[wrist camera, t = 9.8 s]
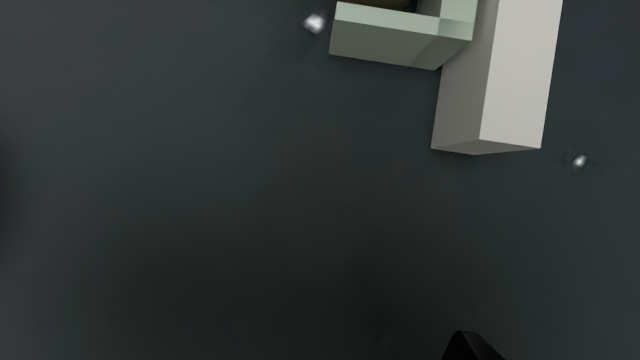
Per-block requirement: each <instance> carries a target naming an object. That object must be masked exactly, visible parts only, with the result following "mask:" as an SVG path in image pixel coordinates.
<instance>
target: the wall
mask: <svg viewBox="0 0 640 360" xmlns="http://www.w3.org/2000/svg"><path fill="white" fill-rule="evenodd" d="M562 1H563V0H478V1H477V8H476V15H475V22H474V28H473V35H472V41H471V42H470V43H468V44H467V45H466V46H464V47H463V48H462V49H461V50H459V51H458V52H457V53H456V54H454V55H453V56H452V57H451V58H449V59H448V60H447V61H446V62H444V63H443V67H442V74H441V81H440V87H439V94H438V101H437V108H436V115H435V121H434V128H433V135H432V142H431V149H437V150H444V151H451V152H458V153H465V154H471V155H480V154H490V153H499V152H509V151H519V150H528V149H538V148H540V147H541V140H542V134H543V127H544V121H545V114H546V107H547V101H548V94H549V87H550V81H551V74H552V68H553V61H554V54H555V48H556V41H557V34H558V28H559V21H560V15H561V8H562Z"/></svg>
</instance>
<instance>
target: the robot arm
mask: <svg viewBox="0 0 640 360" xmlns="http://www.w3.org/2000/svg"><path fill="white" fill-rule="evenodd" d="M442 360H505V359H504V358H503V357H502V356H501V355H500V354H499V353H498V352H497V351H496V350H495V349H493V348H492V347H491V346H490V345H489V344H488V343H487V342H486V341H485V340H484V339H483V338H482V337H481V336H480V335H478V334H477V333H474V332H468V331H461V330H459V331H456V332H455V333H454V334H453V335H452V337H451V340H450V342H449V344H448V346H447V348H446V350H445V352H444V354H443V356H442Z"/></svg>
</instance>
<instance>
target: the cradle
mask: <svg viewBox="0 0 640 360" xmlns="http://www.w3.org/2000/svg"><path fill="white" fill-rule="evenodd" d="M477 1H478V0H417V5H416V12H415V14H413V13H407V12H401V11H395V10H388V9H382V8H376V7H369V6H363V5H357V4H351V3H344V2H338V1H337V6H336V12H335V17H334V23H333V29H332V34H331V40H330V47H329V53H328V54H331V55H337V56H344V57H350V58H357V59H363V60H370V61H376V62H383V63H389V64H396V65H402V66H409V67H415V68H422V69H428V70H436V69H437V68H438V67H439V66H441V65H442V64H443V63H444V62H446V61H447V60H448V59H449V58H451V57H452V56H453V55H454V54H456V53H457V52H458V51H459V50H461V49H462V48H463V47H464V46H466V45H467V44H468V43H470V42H471V41H472V35H473V28H474V22H475V15H476V8H477Z"/></svg>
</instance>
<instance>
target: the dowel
mask: <svg viewBox="0 0 640 360" xmlns="http://www.w3.org/2000/svg"><path fill="white" fill-rule="evenodd" d="M341 1H342V2H344V3H351V4H357V5H363V6H369V7H376V8H382V9H388V10H395V11H401V12H402V11H404V10H405V9H406V8H407V6H408V5H409V4H410V2H411V1H412V0H341Z"/></svg>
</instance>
